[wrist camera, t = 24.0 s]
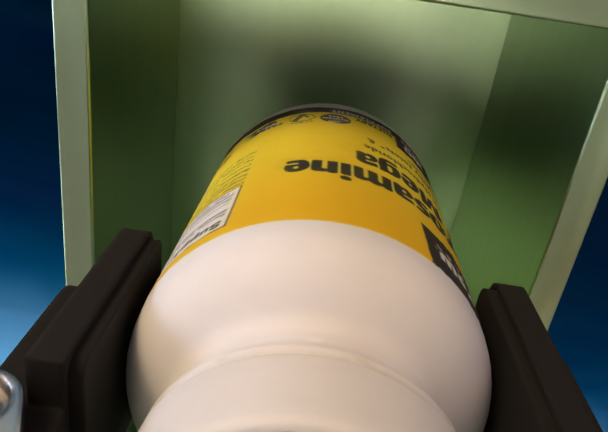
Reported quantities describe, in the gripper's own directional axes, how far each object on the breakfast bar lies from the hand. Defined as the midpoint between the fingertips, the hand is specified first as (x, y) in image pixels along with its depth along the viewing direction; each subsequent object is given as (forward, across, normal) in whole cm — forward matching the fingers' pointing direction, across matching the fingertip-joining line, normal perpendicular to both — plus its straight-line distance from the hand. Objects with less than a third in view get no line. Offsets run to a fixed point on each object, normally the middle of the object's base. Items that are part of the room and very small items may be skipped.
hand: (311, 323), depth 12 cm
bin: (+12, 0, +3) cm, 12 cm away
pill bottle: (+6, 0, 0) cm, 6 cm away
